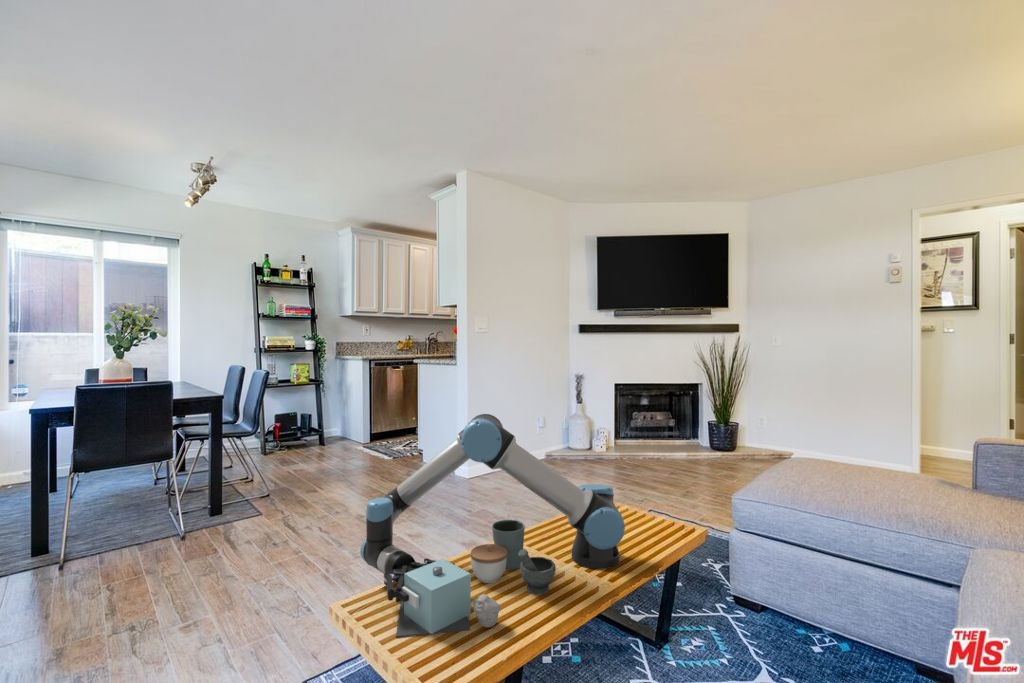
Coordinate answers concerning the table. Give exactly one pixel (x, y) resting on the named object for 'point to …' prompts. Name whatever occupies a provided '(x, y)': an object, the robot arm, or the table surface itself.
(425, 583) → the cover tub
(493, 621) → the grey lumpy rounded piece
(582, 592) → the table surface
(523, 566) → the mortar and pestle
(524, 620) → the table surface
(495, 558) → the lidded jar
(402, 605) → the rubber mat
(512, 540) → the grey green cylindrical pot
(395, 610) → the table surface
